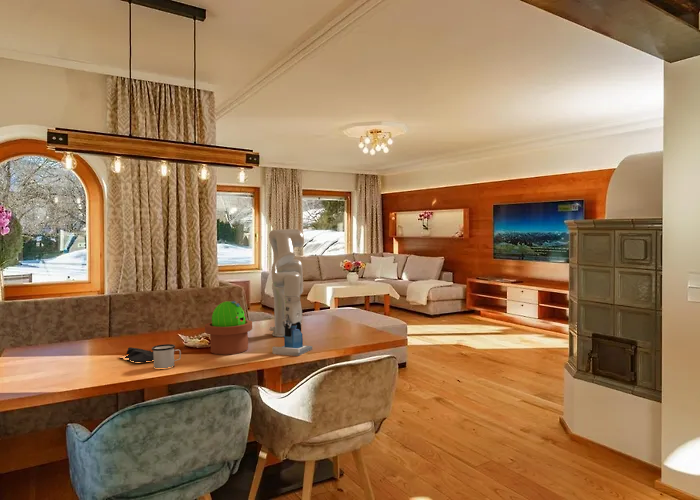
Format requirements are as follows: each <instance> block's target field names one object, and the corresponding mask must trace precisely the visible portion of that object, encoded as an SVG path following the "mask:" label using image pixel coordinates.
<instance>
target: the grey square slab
mask: <svg viewBox="0 0 700 500" xmlns="http://www.w3.org/2000/svg"><path fill="white" fill-rule="evenodd" d="M271 350H272V352H271V353H272V354H273V355H283V356H295V357H299V356H302V355H304V354H306V353H307V352H310V351H311V350H313V346H312V345H304V344H303V347H301V348H286V347H285V345H283V346H272V349H271Z"/></svg>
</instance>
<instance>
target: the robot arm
mask: <svg viewBox="0 0 700 500" xmlns="http://www.w3.org/2000/svg"><path fill="white" fill-rule="evenodd" d="M268 239H269V244H270V246H271V248H272V249H271V250H272V252H273V263H272V265H271V280H272V281H271V282H272V284H271V289H272V297H273V306H274V307H273V310H274V326H269V330H268V331H271V334H272V336H273V337H278V338H279V337H280V338H281V337H282V338H284V335H285V336H287V337H291V328H290V327H291V324H295V323H296V325H297V327H296V329H299V330H300V331H301V332H302V321H303V310H302V307H303V306H302V302H301V295H302V294H303V292H304V274H303V263H302V260H299V259H295V257H296V252H295V248H301V247H303V246H304V245H305V237H304V234H303V232H302V231H301V230H300V229H298V228H293V229H292V228H290V229H289V228H287V229H285V228H284V229H282V228H279V229H273V230H270V231H269V232H268Z"/></svg>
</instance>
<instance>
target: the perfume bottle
mask: <svg viewBox="0 0 700 500" xmlns="http://www.w3.org/2000/svg"><path fill="white" fill-rule="evenodd" d="M296 327H297V325H296V323H295V324H291V327H290V328H291V337H287V336H285V335H284V337H283V339H284V342H283V343H284V346H285V347H286V348H301V347H303V345H304V344H303V341H304V339H303V333H302V330H301V331H300V330H299V329H296Z"/></svg>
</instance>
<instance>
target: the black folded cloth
mask: <svg viewBox="0 0 700 500" xmlns="http://www.w3.org/2000/svg"><path fill="white" fill-rule="evenodd" d="M151 351H152V350H148V349H147V350H146V349H142V348H137V347H128V348H127V351H126V354H129V355H128V356H126V357H125V358H129V360H131V361H134V362H146V361H152V360H154V359H153V351H152V352H151ZM126 354H123V355H122V356H124V355H126Z"/></svg>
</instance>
